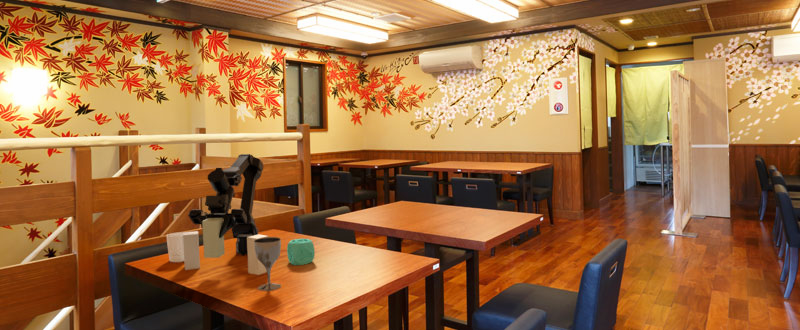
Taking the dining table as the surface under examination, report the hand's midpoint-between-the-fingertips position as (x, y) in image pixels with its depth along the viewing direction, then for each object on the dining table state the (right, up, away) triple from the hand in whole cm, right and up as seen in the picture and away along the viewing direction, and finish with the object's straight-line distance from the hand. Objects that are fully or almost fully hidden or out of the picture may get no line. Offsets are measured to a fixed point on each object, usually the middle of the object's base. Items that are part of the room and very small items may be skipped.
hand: (211, 237), depth 168 cm
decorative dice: (+27, -12, +17) cm, 34 cm away
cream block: (+14, -13, +5) cm, 20 cm away
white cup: (-21, -12, +23) cm, 33 cm away
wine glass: (+22, -14, -12) cm, 29 cm away
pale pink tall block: (-12, -13, +12) cm, 21 cm away
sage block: (0, -6, +2) cm, 7 cm away
